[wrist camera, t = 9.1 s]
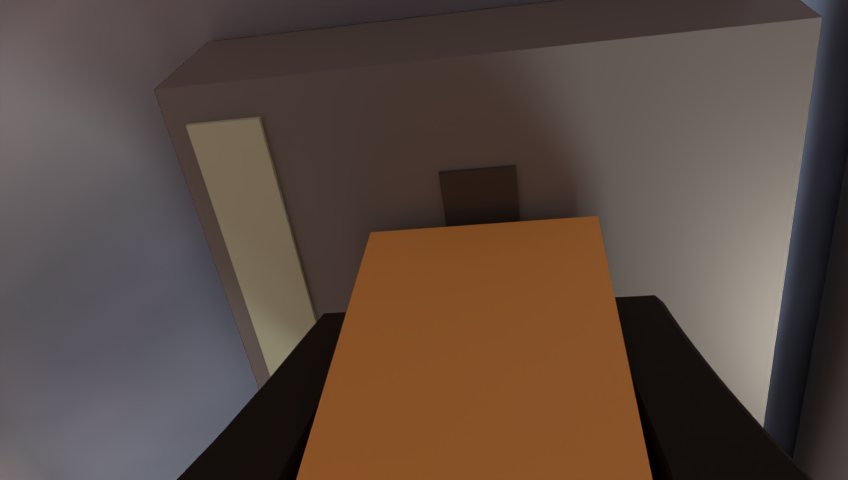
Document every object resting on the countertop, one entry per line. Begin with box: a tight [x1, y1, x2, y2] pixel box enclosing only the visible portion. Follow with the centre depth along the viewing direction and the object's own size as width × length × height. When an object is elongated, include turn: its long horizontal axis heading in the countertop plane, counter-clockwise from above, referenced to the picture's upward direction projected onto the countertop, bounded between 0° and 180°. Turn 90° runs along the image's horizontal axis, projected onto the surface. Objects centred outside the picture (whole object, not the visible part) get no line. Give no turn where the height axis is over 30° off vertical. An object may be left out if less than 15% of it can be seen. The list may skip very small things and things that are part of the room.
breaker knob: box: [296, 216, 653, 480], centre depth 9 cm, size 4×3×4 cm
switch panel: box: [154, 0, 822, 427], centre depth 14 cm, size 16×8×2 cm, turn 8°
